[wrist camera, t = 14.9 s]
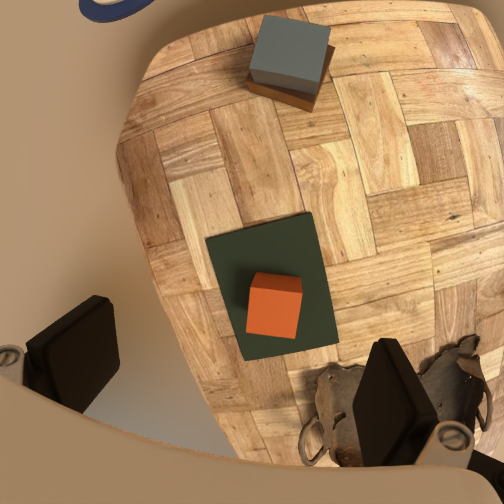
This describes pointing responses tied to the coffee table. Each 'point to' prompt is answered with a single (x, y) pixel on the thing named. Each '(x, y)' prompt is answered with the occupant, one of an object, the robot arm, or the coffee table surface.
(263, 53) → the middle block
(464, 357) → the rusty handled basin
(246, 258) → the mat
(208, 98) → the coffee table surface
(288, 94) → the bottom block
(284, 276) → the top cube
